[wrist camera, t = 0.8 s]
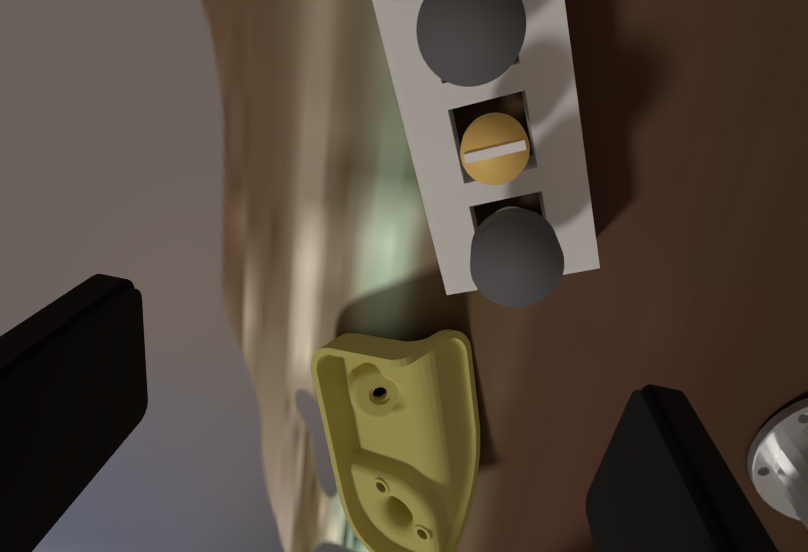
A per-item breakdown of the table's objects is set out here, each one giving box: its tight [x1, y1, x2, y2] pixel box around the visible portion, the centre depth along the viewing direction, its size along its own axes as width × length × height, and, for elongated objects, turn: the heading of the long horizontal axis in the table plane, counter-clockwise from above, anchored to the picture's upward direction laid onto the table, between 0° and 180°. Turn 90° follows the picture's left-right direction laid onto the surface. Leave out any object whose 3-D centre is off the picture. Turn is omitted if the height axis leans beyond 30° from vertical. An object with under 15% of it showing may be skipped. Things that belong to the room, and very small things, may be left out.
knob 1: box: [416, 0, 526, 87], centre depth 27 cm, size 5×5×6 cm
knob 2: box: [470, 206, 564, 307], centre depth 31 cm, size 5×5×6 cm
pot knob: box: [460, 113, 530, 185], centre depth 30 cm, size 4×4×5 cm
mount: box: [372, 0, 600, 295], centre depth 33 cm, size 10×19×4 cm, turn 15°
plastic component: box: [311, 330, 480, 552], centre depth 44 cm, size 20×8×10 cm
